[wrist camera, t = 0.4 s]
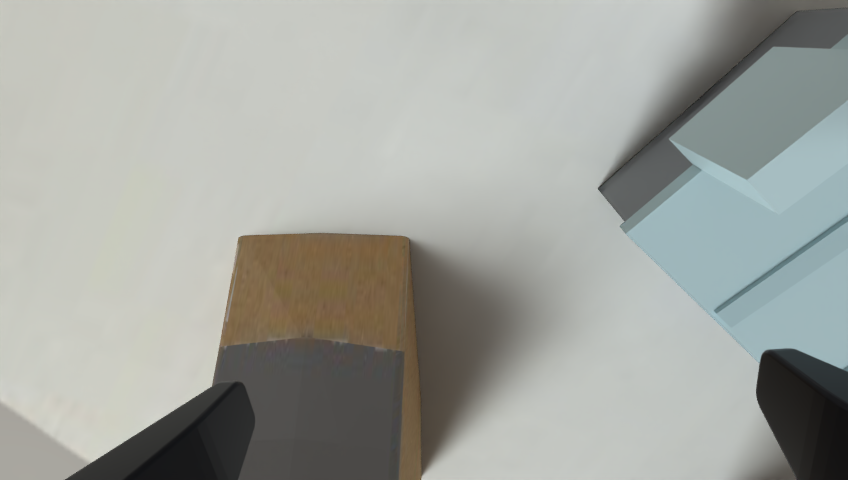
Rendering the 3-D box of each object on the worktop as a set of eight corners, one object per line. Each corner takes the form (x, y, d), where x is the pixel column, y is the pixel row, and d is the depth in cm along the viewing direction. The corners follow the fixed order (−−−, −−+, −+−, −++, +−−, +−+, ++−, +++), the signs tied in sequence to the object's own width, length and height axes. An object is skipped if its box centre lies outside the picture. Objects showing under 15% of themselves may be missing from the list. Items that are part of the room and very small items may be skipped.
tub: (997, 259, 20) (1116, 310, 16) (795, 382, 23) (856, 448, 19) (796, 11, 17) (885, 4, 14) (597, 188, 20) (625, 222, 17)
